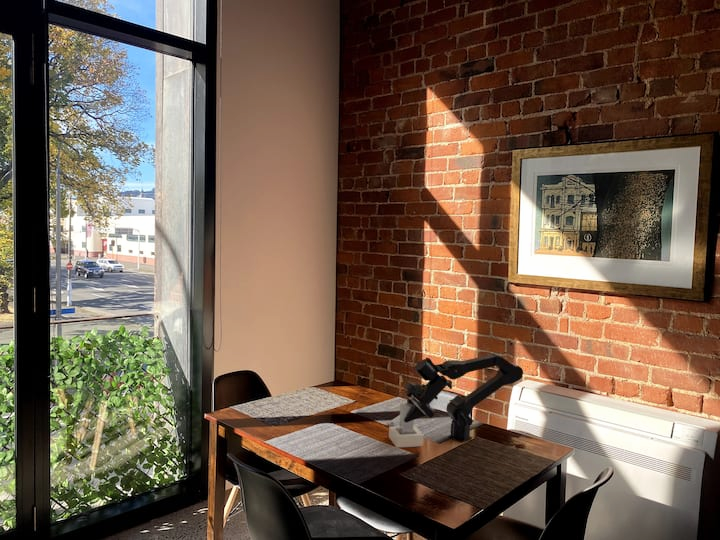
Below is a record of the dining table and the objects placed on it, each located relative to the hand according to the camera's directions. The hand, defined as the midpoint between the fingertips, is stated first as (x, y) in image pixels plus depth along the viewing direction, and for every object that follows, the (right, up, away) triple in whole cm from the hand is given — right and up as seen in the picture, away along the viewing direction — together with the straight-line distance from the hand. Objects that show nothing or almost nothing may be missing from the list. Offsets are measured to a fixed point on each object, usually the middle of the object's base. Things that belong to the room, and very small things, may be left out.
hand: (403, 419), depth 213 cm
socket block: (+1, -8, +1) cm, 8 cm away
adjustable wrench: (+1, -7, +28) cm, 29 cm away
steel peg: (+1, -7, +1) cm, 7 cm away
